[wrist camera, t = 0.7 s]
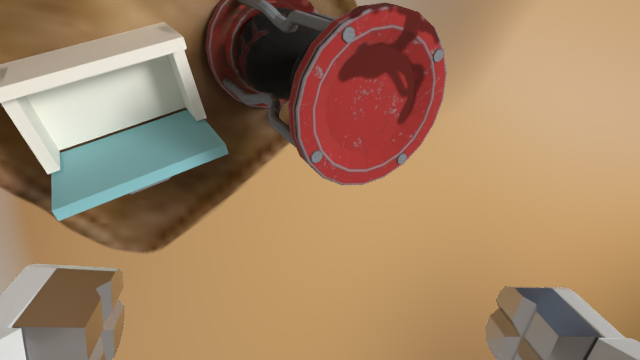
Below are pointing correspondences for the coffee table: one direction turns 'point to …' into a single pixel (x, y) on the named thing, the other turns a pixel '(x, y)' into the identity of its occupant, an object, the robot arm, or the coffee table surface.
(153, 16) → the coffee table surface
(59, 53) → the white open box
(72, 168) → the box lid
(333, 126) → the hourglass
